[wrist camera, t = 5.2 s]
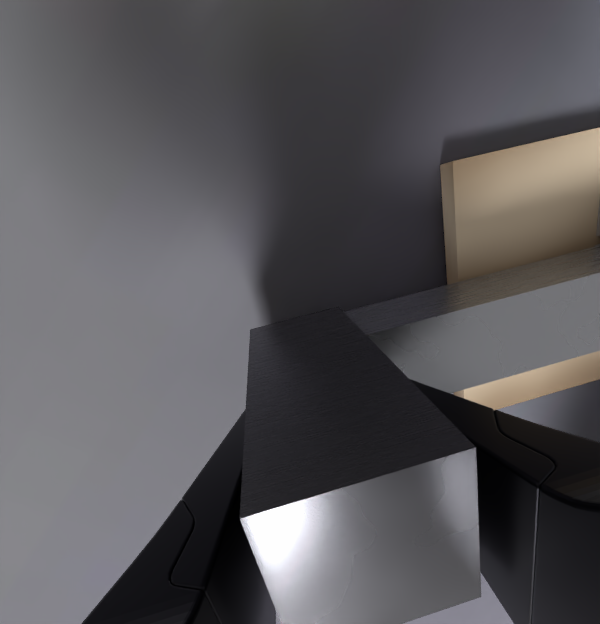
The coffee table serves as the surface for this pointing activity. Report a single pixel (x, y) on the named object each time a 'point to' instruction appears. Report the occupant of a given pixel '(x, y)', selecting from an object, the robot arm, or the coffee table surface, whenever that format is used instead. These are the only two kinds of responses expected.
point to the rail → (523, 234)
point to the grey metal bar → (391, 437)
